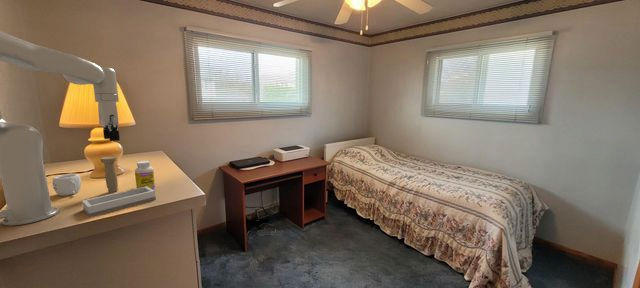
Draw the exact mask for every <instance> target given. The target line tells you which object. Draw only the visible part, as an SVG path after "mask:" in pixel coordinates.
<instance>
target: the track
mask: <svg viewBox="0 0 640 288" xmlns="http://www.w3.org/2000/svg"><path fill="white" fill-rule="evenodd" d="M156 199H157V198H156V191H155V189H154V190H152V189H151V188H149V187H147V186H145V187H141V188H137V187H136V188H132V189H129V190H124V191H120V192H118V191H117V192H113V193H111V194H110V193H109V194H106V195H101V196H96V197H93V198H88V199H83V200H81V201H82V209H83V212H85V214H87V216H88V217H95V216H98V215H102V214H106V213H110V212H113V211H117V210H121V209H125V208H127V207H132V206H135V205H136V206H137V205H139V204H144V203H148V202H150V201H151V202H152V201H154V200H156Z"/></svg>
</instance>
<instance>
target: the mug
mask: <svg viewBox="0 0 640 288" xmlns="http://www.w3.org/2000/svg"><path fill="white" fill-rule="evenodd" d="M51 183H52V188H53V190H54V191H55V194H57V195H58V196H61V197H65V196H67V197H68V196H72V195H77V193H79V192H80V190H81V187H82V179H81V176H80V175H79V174H78V173H66V174H60V175H57V176H54V177H53V178H52V182H51Z"/></svg>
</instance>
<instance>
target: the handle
mask: <svg viewBox="0 0 640 288" xmlns="http://www.w3.org/2000/svg"><path fill="white" fill-rule="evenodd" d="M100 162H101V163H102V164H103V165H104V175H105V177H104V178H105V184H106V188H107V191H108V193H109V194H110V193H117V192H118V191H119V190H118V189H119V188H118V186H119V185H118V184H119V182H118V176H117V170H116V166H115V165H116V164H115V162H117V156H104V157H100Z"/></svg>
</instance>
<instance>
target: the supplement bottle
mask: <svg viewBox="0 0 640 288" xmlns="http://www.w3.org/2000/svg"><path fill="white" fill-rule="evenodd" d="M150 161H151V160H140V161H138V162H136V166H137V168H135V169H134V176H135V185H136V188H141V187H145V186H147V187H149V188H151V189H152V190H154V191H155V190H156V184H155V175H154V174H155V172H154V168H153V167H152V166H150V165H151V162H150Z"/></svg>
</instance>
